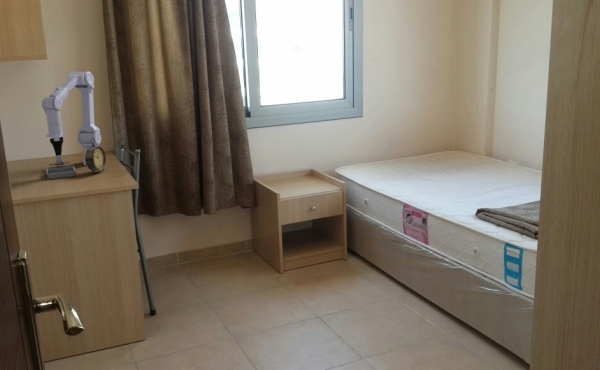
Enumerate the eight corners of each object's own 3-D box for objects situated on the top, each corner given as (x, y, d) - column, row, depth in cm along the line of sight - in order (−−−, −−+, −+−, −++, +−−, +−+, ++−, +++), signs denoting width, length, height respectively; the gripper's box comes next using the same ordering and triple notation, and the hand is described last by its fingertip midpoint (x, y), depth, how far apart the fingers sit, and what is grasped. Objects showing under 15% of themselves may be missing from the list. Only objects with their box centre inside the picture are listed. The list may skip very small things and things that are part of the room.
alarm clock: (95, 175, 281) (91, 139, 277) (84, 175, 282) (80, 139, 278) (107, 169, 291) (103, 135, 287) (97, 169, 292) (93, 135, 288)
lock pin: (55, 162, 283) (52, 143, 280) (63, 161, 284) (60, 142, 281) (55, 164, 280) (53, 145, 277) (63, 163, 281) (61, 144, 278)
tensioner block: (49, 169, 295) (48, 163, 295) (70, 167, 299) (69, 161, 298) (50, 173, 287) (49, 167, 287) (71, 171, 291) (70, 164, 290)
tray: (46, 174, 285) (46, 169, 285) (74, 171, 290) (74, 166, 289) (47, 179, 276) (46, 174, 275) (76, 176, 280) (75, 171, 279)
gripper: (44, 122, 282) (48, 152, 285) (45, 127, 269) (49, 158, 272) (61, 121, 284) (65, 151, 288) (62, 125, 271) (66, 156, 275)
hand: (58, 154), depth 280 cm, fingers closed on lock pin, 3 cm apart
